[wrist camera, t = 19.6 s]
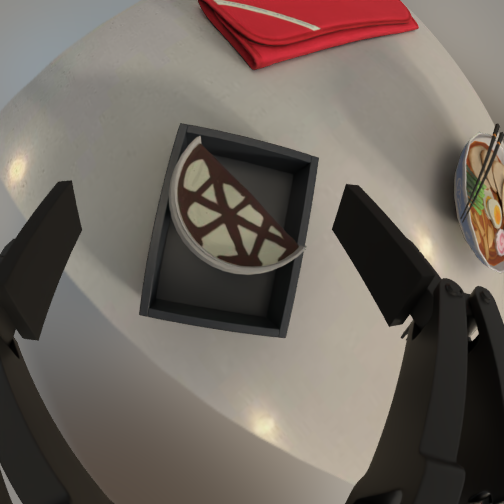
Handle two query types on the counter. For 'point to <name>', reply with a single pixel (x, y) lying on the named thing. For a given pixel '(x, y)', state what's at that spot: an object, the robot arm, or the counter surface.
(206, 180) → the halved ice cream tub
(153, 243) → the bin
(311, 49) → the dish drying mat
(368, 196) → the robot arm
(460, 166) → the ramen bowl
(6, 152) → the counter surface
